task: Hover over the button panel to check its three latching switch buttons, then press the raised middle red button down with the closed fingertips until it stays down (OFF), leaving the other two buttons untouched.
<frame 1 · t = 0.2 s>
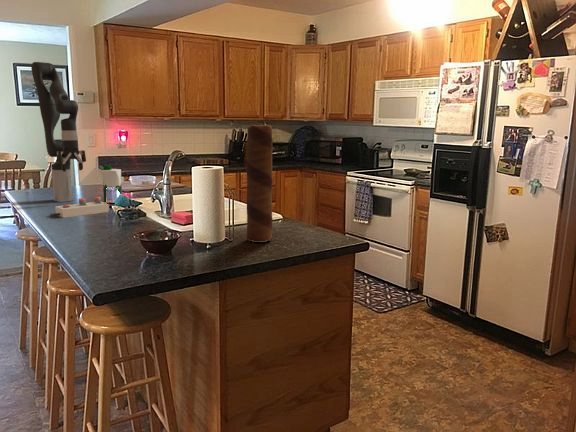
hand: (72, 170, 250), 18 cm above the countertop, tool pointing down, fingers open, 8 cm apart
button panel: (83, 213, 232), on the countertop
button 3: (97, 200, 236), point 6 cm above the countertop, slide at 0.0 cm
wafer roll: (259, 241, 189), on the countertop
button 1: (66, 207, 226), point 4 cm above the countertop, slide at -2.0 cm
button 2: (82, 201, 231), point 6 cm above the countertop, slide at 0.0 cm
milk carton: (113, 202, 261), on the countertop
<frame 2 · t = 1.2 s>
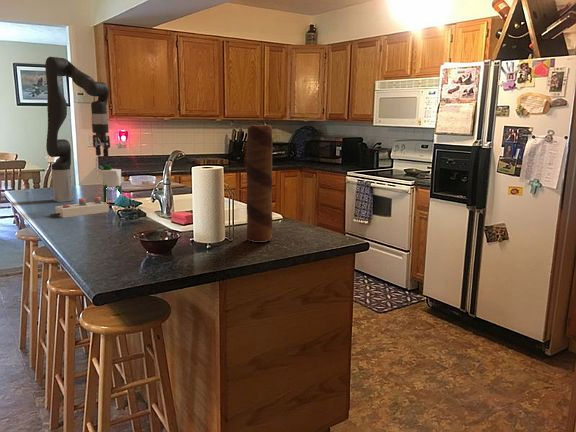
hand: (102, 156, 240), 27 cm above the countertop, tool pointing down, fingers open, 8 cm apart
nothing on the countertop moved.
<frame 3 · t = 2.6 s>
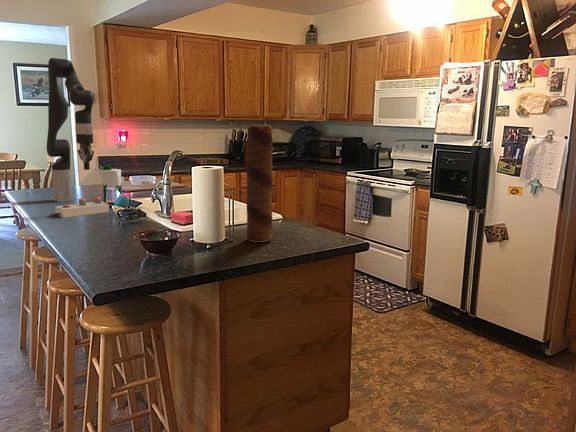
hand: (86, 169, 231), 21 cm above the countertop, tool pointing down, fingers closed
nothing on the countertop moved.
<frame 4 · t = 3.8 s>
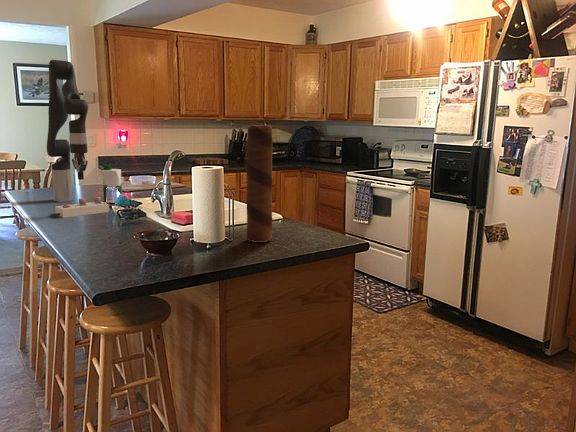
hand: (80, 179, 228), 16 cm above the countertop, tool pointing down, fingers closed
nothing on the countertop moved.
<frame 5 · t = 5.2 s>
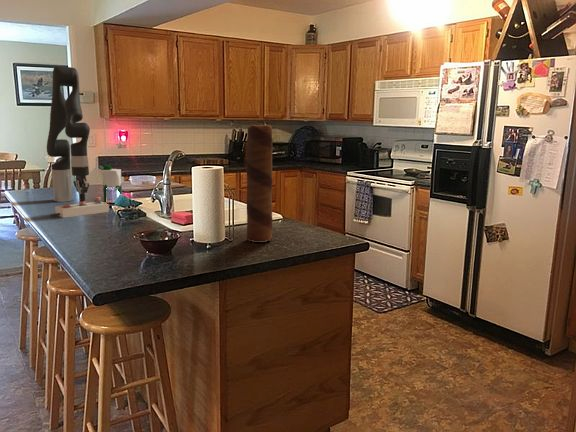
hand: (82, 201, 230), 6 cm above the countertop, tool pointing down, fingers closed
button 2: (82, 203, 231), point 5 cm above the countertop, slide at -1.1 cm, touching gripper
everything else where it was.
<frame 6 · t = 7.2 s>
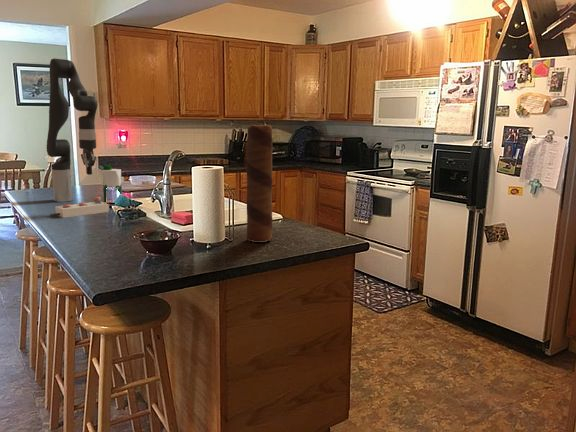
hand: (89, 174, 234), 18 cm above the countertop, tool pointing down, fingers closed
button 2: (82, 205, 231), point 4 cm above the countertop, slide at -2.0 cm
everything else where it was.
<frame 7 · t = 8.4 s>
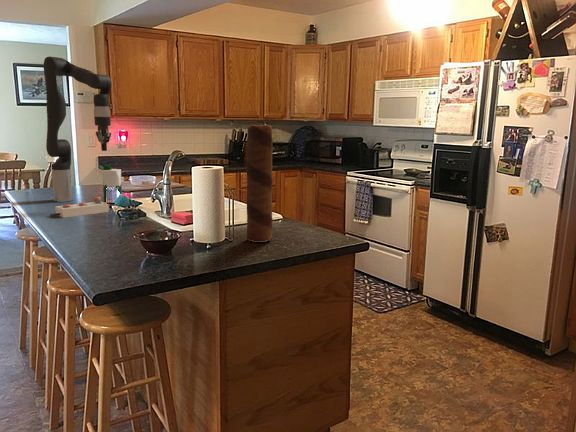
hand: (104, 150, 242), 29 cm above the countertop, tool pointing down, fingers closed
nothing on the countertop moved.
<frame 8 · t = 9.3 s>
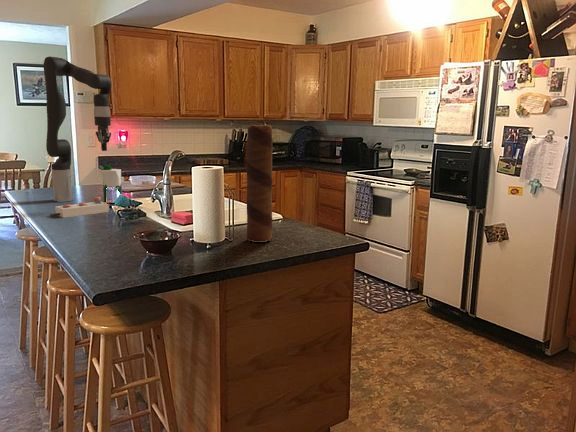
hand: (104, 150, 242), 29 cm above the countertop, tool pointing down, fingers closed
nothing on the countertop moved.
at the end: button 2 slide at -2.0 cm; button 3 slide at 0.0 cm; button 1 slide at -2.0 cm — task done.
